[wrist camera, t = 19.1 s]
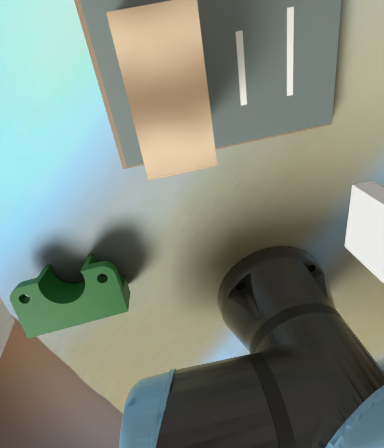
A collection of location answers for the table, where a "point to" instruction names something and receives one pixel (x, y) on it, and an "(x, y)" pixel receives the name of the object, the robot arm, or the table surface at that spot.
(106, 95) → the slate board
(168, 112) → the wooden block
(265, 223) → the table surface
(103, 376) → the table surface
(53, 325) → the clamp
